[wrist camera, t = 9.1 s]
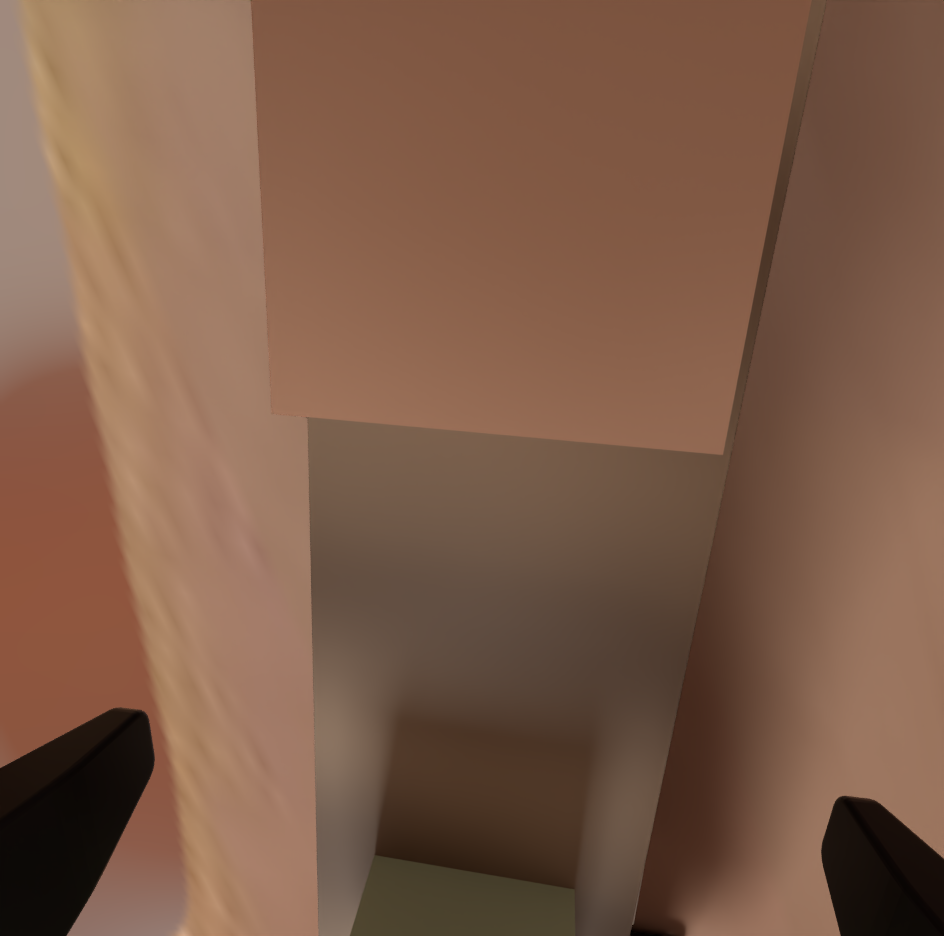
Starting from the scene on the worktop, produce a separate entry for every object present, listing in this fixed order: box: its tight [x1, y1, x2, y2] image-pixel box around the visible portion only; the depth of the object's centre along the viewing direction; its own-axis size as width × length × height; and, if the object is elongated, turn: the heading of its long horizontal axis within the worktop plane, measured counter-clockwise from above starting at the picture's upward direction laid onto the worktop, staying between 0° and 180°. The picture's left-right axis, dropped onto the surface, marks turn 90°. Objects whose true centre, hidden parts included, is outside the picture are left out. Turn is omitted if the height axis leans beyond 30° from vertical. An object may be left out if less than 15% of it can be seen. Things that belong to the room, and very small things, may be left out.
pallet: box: [308, 0, 827, 936], centre depth 14 cm, size 24×6×5 cm, turn 177°
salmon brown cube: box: [251, 0, 812, 455], centre depth 7 cm, size 4×4×4 cm
